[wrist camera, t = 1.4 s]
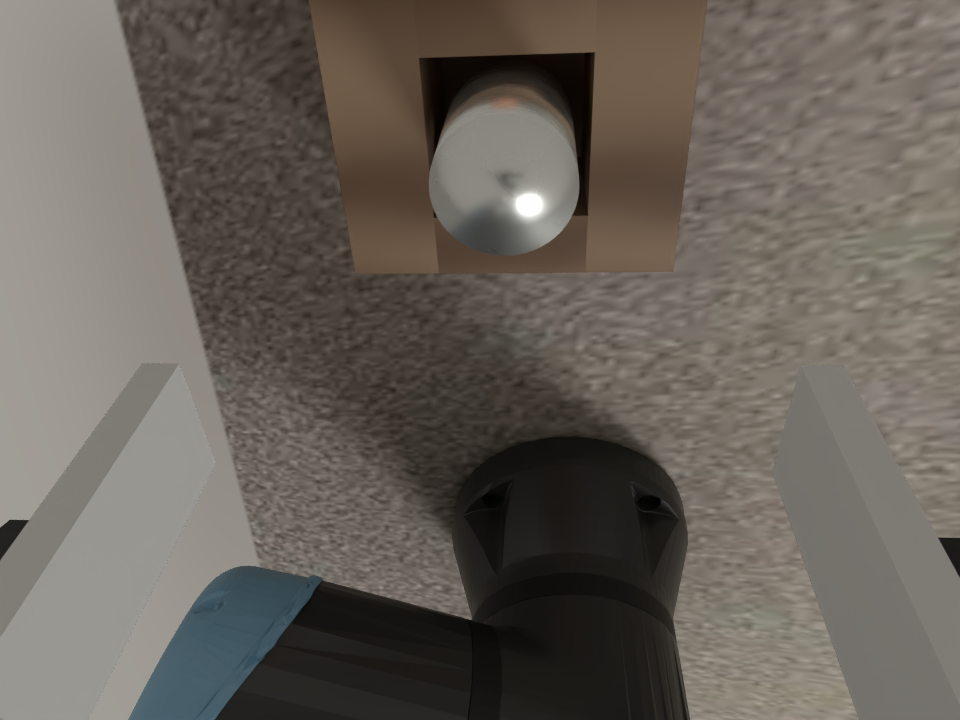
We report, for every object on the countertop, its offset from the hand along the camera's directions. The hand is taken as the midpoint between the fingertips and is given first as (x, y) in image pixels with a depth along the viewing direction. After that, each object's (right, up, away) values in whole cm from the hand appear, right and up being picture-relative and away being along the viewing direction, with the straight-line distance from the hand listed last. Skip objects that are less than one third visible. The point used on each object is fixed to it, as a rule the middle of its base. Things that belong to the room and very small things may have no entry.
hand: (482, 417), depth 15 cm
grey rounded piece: (+1, +10, +14) cm, 17 cm away
